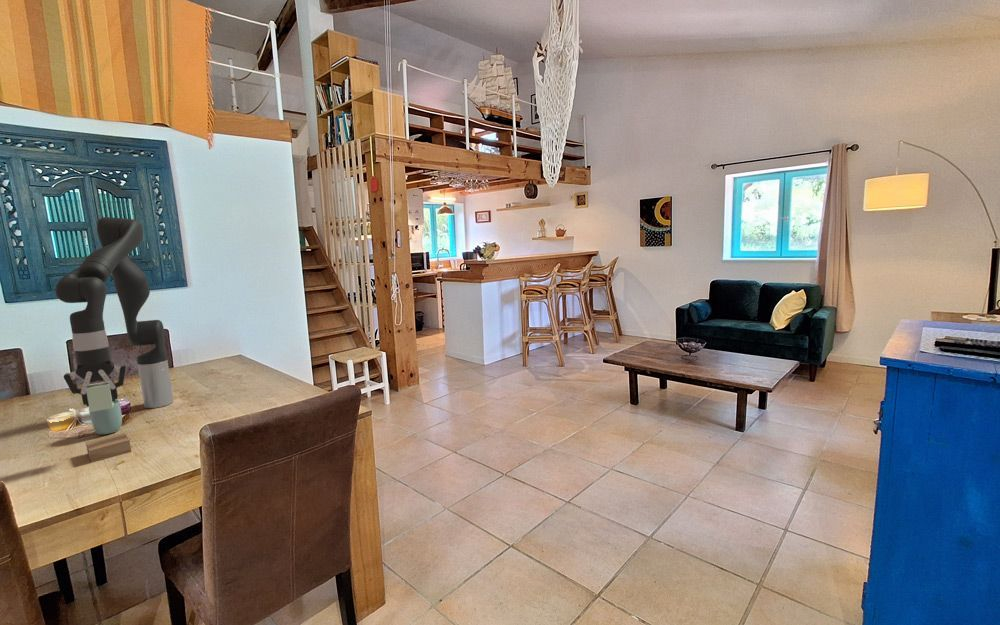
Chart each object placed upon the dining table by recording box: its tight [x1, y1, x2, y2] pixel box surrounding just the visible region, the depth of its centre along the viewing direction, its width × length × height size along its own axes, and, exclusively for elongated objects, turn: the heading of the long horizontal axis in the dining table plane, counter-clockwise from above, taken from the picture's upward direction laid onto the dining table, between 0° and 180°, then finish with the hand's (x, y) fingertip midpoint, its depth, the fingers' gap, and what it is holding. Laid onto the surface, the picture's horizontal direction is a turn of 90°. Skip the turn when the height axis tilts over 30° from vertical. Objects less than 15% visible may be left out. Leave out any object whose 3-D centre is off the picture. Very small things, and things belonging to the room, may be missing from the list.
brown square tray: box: [85, 432, 132, 464], centre depth 135 cm, size 9×9×4 cm
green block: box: [86, 381, 114, 413], centre depth 133 cm, size 5×5×7 cm
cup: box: [88, 399, 123, 436], centre depth 150 cm, size 8×8×10 cm
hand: (101, 403), depth 133 cm, fingers closed on green block, 5 cm apart
